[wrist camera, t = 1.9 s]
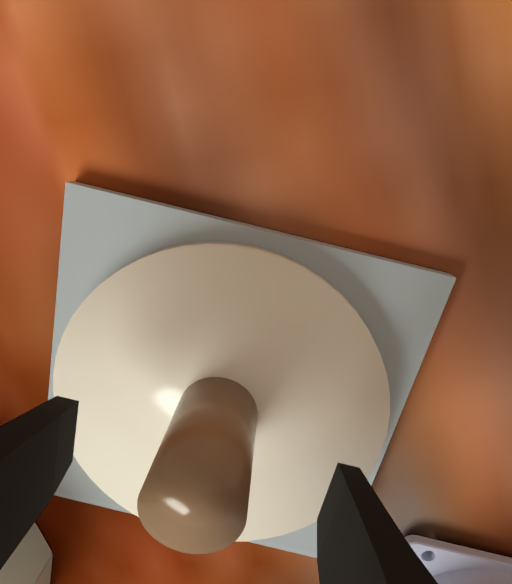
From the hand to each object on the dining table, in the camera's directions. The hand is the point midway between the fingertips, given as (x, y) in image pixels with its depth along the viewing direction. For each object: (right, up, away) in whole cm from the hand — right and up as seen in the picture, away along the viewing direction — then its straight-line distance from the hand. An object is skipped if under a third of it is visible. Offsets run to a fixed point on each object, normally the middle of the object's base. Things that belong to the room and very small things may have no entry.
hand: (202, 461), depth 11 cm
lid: (0, +1, +3) cm, 3 cm away
